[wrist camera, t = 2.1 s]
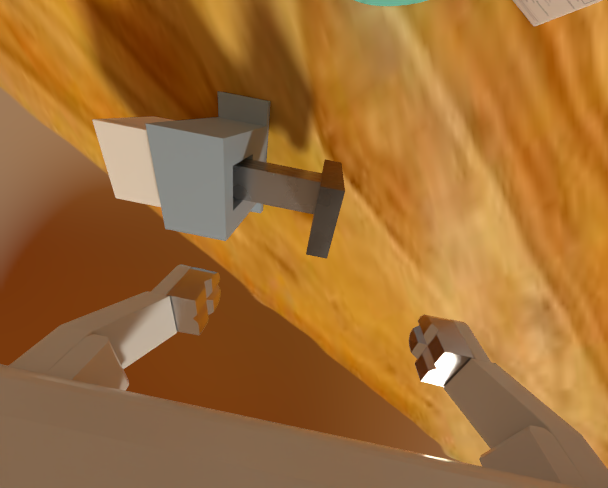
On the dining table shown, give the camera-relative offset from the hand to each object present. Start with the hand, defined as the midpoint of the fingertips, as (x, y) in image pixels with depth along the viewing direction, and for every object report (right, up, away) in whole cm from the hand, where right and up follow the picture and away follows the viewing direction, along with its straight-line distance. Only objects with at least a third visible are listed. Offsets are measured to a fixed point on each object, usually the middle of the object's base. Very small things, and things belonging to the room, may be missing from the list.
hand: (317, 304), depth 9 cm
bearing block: (-7, +12, +17) cm, 22 cm away
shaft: (-7, +10, +12) cm, 17 cm away
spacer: (-14, +12, +14) cm, 23 cm away
